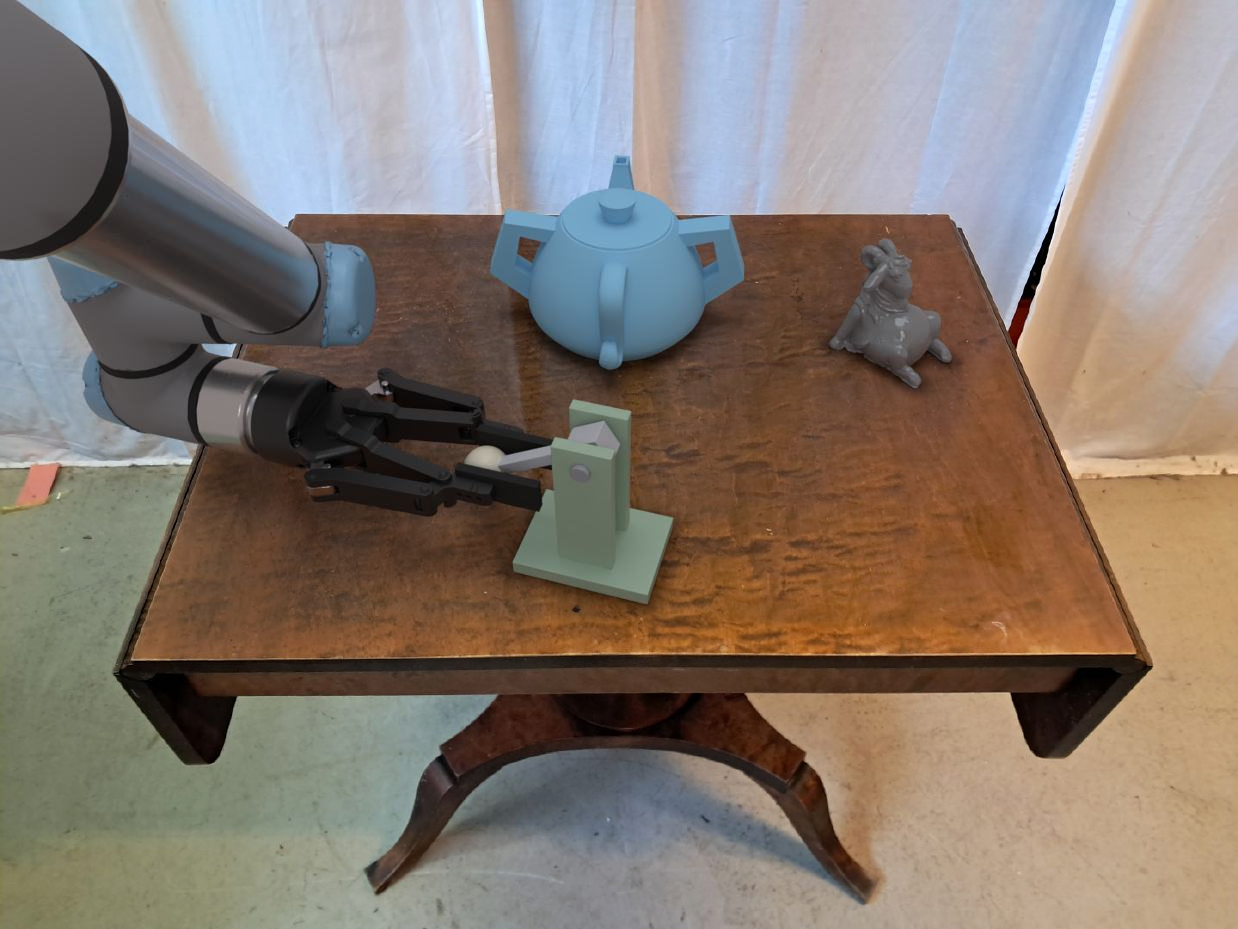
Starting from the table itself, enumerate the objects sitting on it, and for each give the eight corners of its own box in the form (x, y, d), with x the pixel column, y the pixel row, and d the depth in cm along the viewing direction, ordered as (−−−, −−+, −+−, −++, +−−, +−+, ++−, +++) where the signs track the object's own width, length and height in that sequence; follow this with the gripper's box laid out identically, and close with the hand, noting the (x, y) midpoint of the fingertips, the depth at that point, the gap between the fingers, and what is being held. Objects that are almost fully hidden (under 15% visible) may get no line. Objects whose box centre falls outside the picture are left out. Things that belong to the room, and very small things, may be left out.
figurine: (910, 394, 89) (939, 303, 81) (825, 344, 94) (844, 254, 86) (959, 354, 93) (991, 263, 85) (874, 308, 98) (897, 218, 90)
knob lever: (473, 504, 74) (446, 473, 72) (490, 472, 76) (465, 440, 74) (613, 478, 67) (587, 442, 65) (627, 443, 69) (603, 407, 67)
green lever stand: (513, 572, 75) (497, 451, 65) (547, 498, 80) (537, 376, 70) (647, 605, 73) (652, 485, 63) (672, 527, 78) (681, 406, 68)
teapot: (744, 323, 96) (758, 202, 86) (599, 407, 88) (595, 285, 78) (623, 241, 106) (622, 125, 96) (481, 310, 98) (465, 190, 88)
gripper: (334, 382, 84) (584, 435, 79) (230, 520, 73) (514, 592, 69) (314, 315, 79) (582, 368, 74) (199, 453, 68) (505, 526, 63)
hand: (548, 475), depth 71 cm, fingers closed on knob lever, 4 cm apart
